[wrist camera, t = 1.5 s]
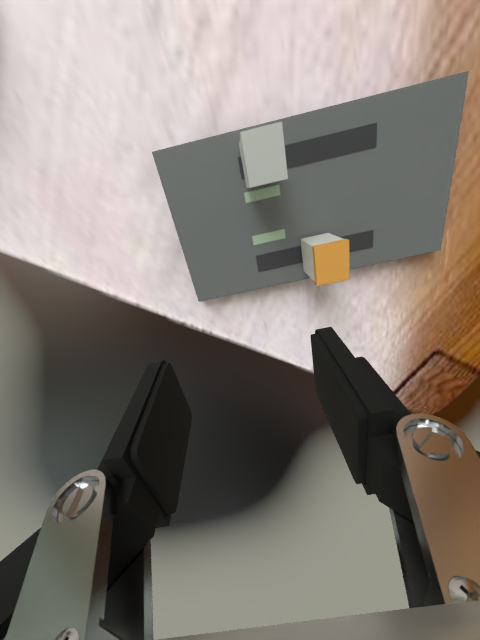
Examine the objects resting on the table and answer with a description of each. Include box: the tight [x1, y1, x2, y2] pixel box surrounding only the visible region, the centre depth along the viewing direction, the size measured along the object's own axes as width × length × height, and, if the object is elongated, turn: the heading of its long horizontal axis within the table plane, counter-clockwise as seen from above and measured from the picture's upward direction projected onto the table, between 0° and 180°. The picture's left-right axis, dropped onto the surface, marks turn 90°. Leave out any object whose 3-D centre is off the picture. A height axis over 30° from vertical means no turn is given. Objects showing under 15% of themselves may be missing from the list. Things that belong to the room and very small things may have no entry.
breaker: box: [239, 121, 288, 188], centre depth 18 cm, size 3×3×4 cm
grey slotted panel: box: [152, 71, 469, 301], centre depth 22 cm, size 24×13×2 cm, turn 102°
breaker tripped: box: [301, 233, 350, 286], centre depth 21 cm, size 3×3×4 cm
